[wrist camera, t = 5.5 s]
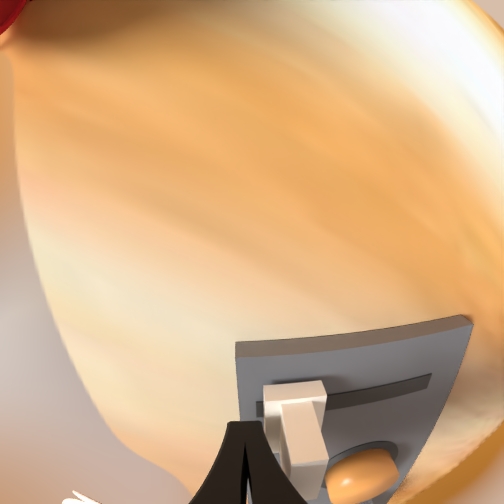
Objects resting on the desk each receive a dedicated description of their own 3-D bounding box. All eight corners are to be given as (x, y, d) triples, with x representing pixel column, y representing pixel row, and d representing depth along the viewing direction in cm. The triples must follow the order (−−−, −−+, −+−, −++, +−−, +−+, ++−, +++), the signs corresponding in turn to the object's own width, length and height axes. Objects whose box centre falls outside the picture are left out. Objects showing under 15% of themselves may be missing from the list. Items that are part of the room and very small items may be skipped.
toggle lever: (321, 380, 11) (348, 452, 7) (313, 433, 12) (330, 498, 8) (263, 385, 11) (272, 462, 7) (263, 438, 12) (270, 506, 8)
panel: (461, 314, 13) (474, 324, 11) (380, 497, 18) (384, 507, 16) (235, 342, 12) (235, 359, 11) (250, 519, 17) (251, 530, 16)
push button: (398, 441, 13) (408, 461, 12) (380, 476, 14) (387, 494, 13) (329, 457, 13) (337, 480, 11) (320, 490, 14) (324, 510, 13)
